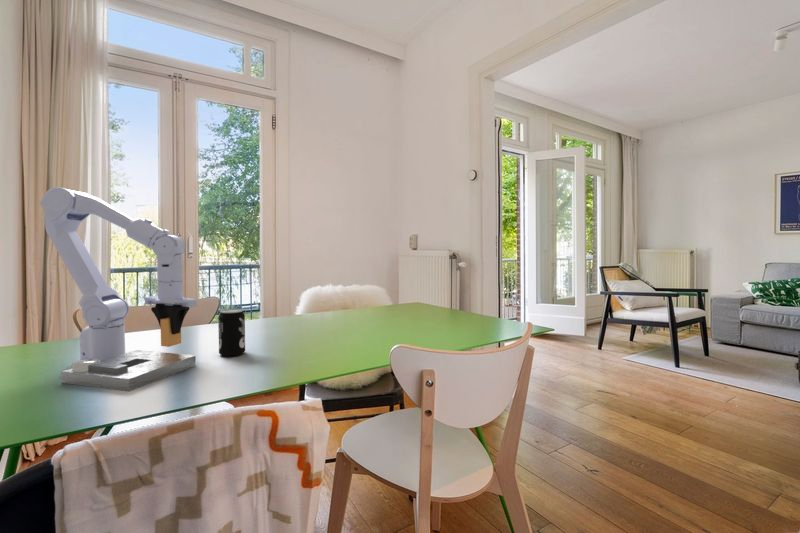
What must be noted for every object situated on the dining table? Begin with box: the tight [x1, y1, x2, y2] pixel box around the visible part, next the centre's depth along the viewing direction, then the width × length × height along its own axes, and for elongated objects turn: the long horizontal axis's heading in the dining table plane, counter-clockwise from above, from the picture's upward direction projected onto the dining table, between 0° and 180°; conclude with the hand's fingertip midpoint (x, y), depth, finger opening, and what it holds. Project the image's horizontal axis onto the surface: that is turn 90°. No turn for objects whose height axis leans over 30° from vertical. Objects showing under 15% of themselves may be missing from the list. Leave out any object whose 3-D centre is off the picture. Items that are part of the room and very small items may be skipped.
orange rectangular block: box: [160, 318, 182, 348], centre depth 104 cm, size 2×4×7 cm, turn 165°
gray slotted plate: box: [60, 349, 197, 392], centre depth 91 cm, size 18×18×4 cm
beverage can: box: [217, 308, 246, 358], centre depth 107 cm, size 7×7×12 cm
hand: (170, 333), depth 104 cm, fingers closed on orange rectangular block, 2 cm apart
